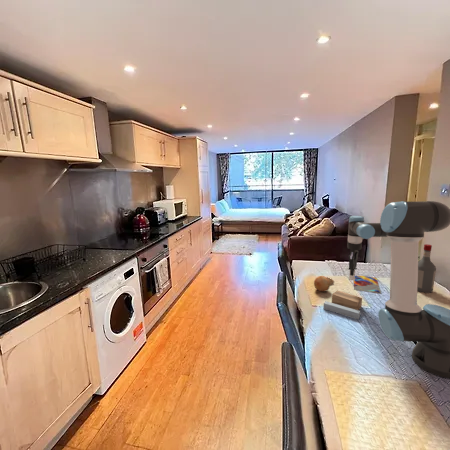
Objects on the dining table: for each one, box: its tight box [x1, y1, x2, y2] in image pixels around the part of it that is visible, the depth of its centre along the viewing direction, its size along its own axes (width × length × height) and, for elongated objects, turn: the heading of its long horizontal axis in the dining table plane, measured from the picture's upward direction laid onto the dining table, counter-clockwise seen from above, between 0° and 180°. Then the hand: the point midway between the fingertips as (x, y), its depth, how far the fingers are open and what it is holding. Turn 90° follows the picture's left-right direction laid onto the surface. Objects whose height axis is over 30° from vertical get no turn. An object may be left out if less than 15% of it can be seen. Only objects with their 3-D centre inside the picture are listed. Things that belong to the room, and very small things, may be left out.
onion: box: [313, 275, 331, 293], centre depth 162 cm, size 10×10×10 cm
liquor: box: [417, 244, 437, 294], centre depth 156 cm, size 9×9×30 cm
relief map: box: [352, 274, 382, 295], centre depth 170 cm, size 25×15×2 cm, turn 155°
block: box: [331, 290, 363, 311], centre depth 143 cm, size 7×14×6 cm, turn 42°
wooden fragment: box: [326, 276, 335, 288], centre depth 173 cm, size 26×11×1 cm, turn 138°
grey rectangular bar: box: [323, 300, 361, 320], centre depth 136 cm, size 3×18×4 cm, turn 50°
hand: (351, 279), depth 149 cm, fingers closed
